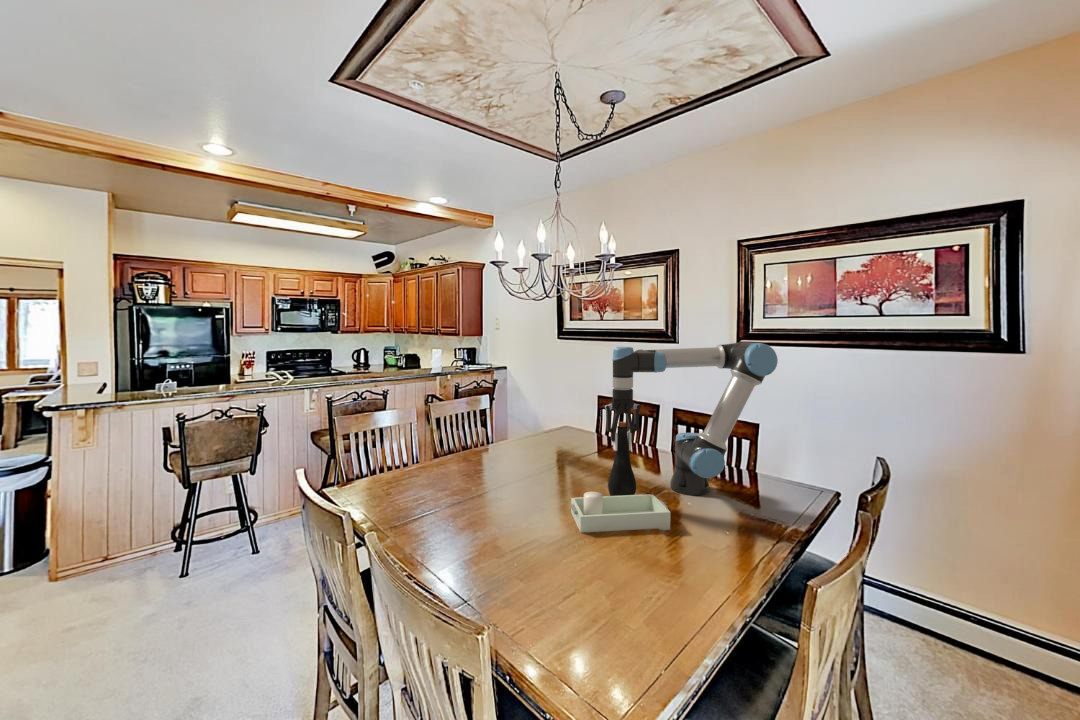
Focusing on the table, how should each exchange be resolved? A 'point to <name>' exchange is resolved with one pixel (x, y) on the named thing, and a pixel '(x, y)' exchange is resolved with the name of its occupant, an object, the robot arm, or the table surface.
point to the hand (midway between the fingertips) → (622, 449)
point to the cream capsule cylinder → (593, 503)
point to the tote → (623, 514)
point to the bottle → (622, 467)
